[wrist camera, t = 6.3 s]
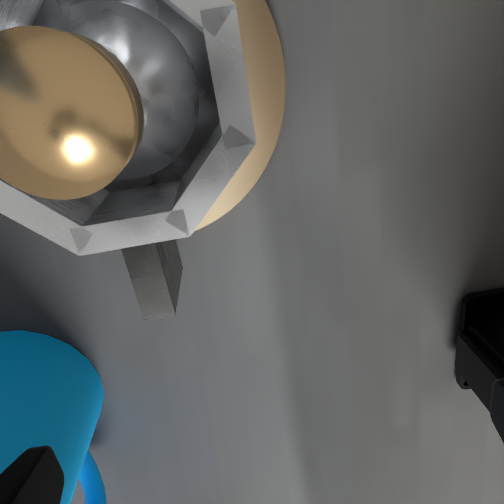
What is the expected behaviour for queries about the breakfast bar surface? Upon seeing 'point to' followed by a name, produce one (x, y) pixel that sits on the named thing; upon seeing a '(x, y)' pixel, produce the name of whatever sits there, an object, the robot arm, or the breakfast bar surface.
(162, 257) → the grey piece
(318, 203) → the breakfast bar surface
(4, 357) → the mug
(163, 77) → the plunger
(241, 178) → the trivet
